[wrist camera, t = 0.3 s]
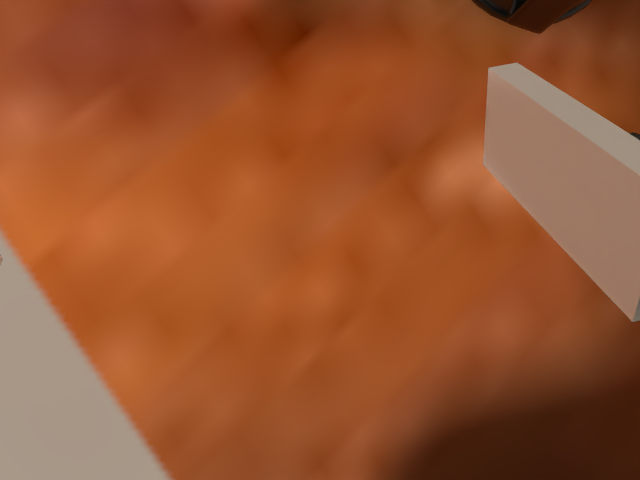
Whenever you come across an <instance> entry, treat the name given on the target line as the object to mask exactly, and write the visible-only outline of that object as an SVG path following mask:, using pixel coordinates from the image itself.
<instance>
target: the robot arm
mask: <svg viewBox="0 0 640 480" xmlns="http://www.w3.org/2000/svg"><path fill="white" fill-rule="evenodd" d="M483 165H484V166H485V167H486V168H487V169H488V170H489V171H490V172H491V173H492V175H493V176H494V177H495V178H496V179H497V180H498V181H499V182H500V183H501V184H502V185H503V186H504V187H505V188H506V189H507V190H508V191H509V192H510V193H511V195H512V196H513V197H514V198H515V199H516V200H517V201H518V202H519V203H520V204H521V205H522V206H523V207H524V208H525V209H526V210H527V211H528V212H529V213H530V215H531V216H532V217H533V218H534V219H535V220H536V221H537V222H538V223H539V224H540V225H541V226H542V227H543V228H544V229H545V230H546V231H547V232H548V233H549V235H550V236H551V237H552V238H553V239H554V240H555V241H556V242H557V243H558V244H559V245H560V246H561V247H562V248H563V249H564V250H565V251H566V252H567V253H568V255H569V256H570V257H571V258H572V259H573V260H574V261H575V262H576V263H577V264H578V265H579V266H580V267H581V268H582V269H583V270H584V271H585V272H586V273H587V275H588V276H589V277H590V278H591V279H592V280H593V281H594V282H595V283H596V284H597V285H598V286H599V287H600V288H601V289H602V290H603V291H604V292H605V293H606V295H607V296H608V297H609V298H610V299H611V300H612V301H613V302H614V303H615V304H616V305H617V306H618V307H619V308H620V309H621V310H622V311H623V312H624V313H625V315H626V316H627V317H628V318H629V319H630V320H631V321H632V322H635V321H639V320H640V134H637V133H627V132H626V131H624V130H623V129H621V128H620V127H618V126H616V125H615V124H613V123H612V122H610V121H609V120H607V119H605V118H604V117H602V116H601V115H599V114H597V113H596V112H594V111H593V110H591V109H590V108H588V107H586V106H585V105H583V104H582V103H580V102H578V101H577V100H575V99H574V98H572V97H571V96H569V95H567V94H566V93H564V92H563V91H561V90H560V89H558V88H556V87H555V86H553V85H552V84H550V83H548V82H547V81H545V80H544V79H542V78H541V77H539V76H537V75H536V74H534V73H533V72H531V71H530V70H528V69H526V68H525V67H523V66H522V65H520V64H518V63H513V64H507V65H502V66H496V67H491V68H488V86H487V104H486V122H485V140H484V158H483ZM1 262H2V257H1V255H0V264H1Z"/></svg>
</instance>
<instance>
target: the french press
mask: <svg viewBox="0 0 640 480" xmlns="http://www.w3.org/2000/svg"><path fill="white" fill-rule="evenodd" d="M472 1H473V2H474V3H475V4H476V5H477V6H479V7H480V8H481V9H483V10H484V11H486V12H487V13H489V14H490V15H491V16H494V17H496V18H498V19H500V20H503V21H505V22H507V23H509V24H510V25H513V26H516V27H519V28H522V29H525V30H528V31H531V32H534V33H539V34H540V33H542V32H543V31H544V30H545V29H547V28H548V27H549V26H550V25H552V24H554V23H557V22H560V21H562V20H565V19H567V18H570V17H571V16H573V15H574V14H576V13H577V12H579V11H580V10H582V9H583V8H584V7H586V6H587V5H588V4H589V3H590V2H591V1H592V0H472Z"/></svg>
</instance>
